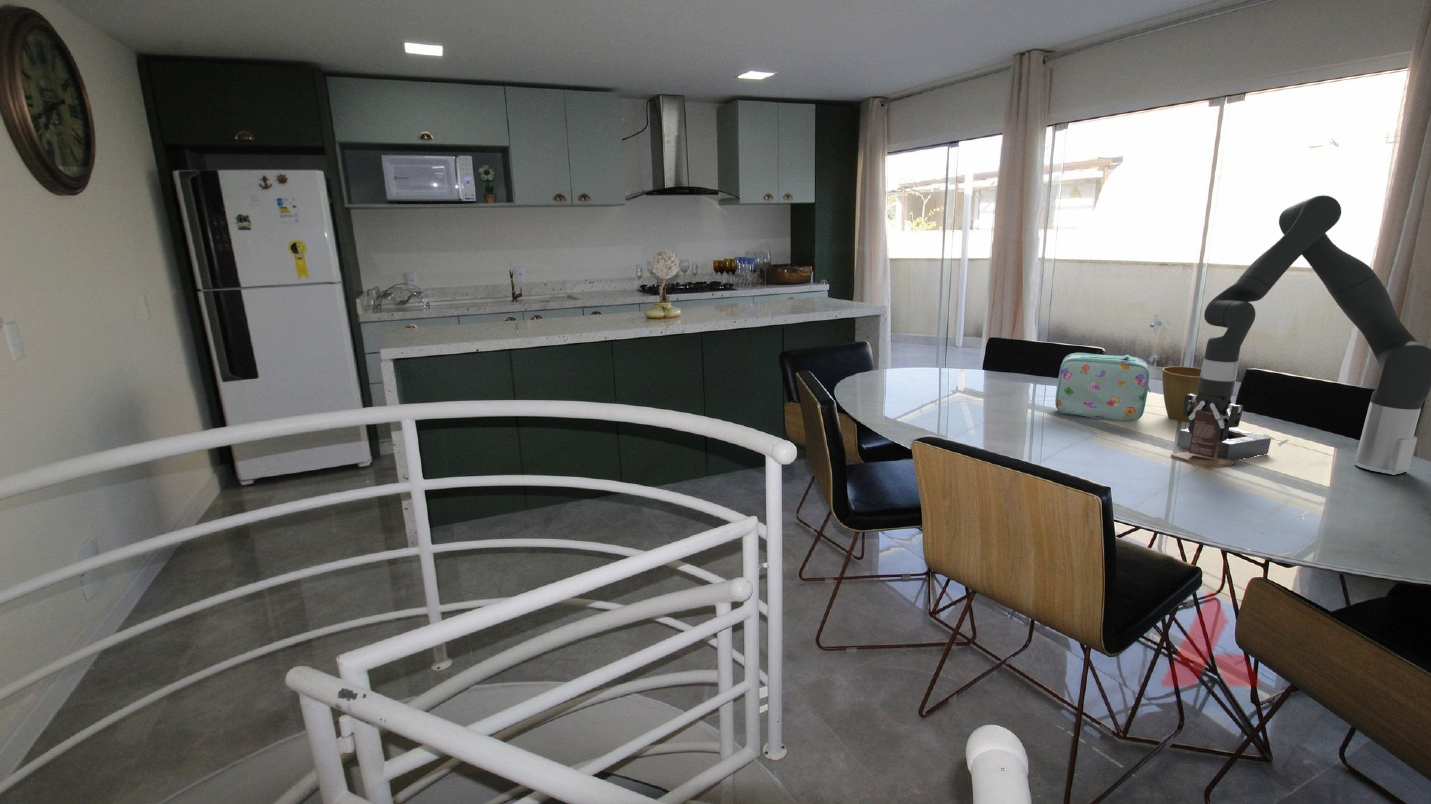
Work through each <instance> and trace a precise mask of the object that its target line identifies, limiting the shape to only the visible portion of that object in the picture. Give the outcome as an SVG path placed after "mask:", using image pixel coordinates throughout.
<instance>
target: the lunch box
mask: <svg viewBox="0 0 1431 804" xmlns="http://www.w3.org/2000/svg"><path fill="white" fill-rule="evenodd" d="M1149 367H1150V366H1149V364H1148V363H1147V361H1145V360H1144V359H1142V358H1140V357H1137V356H1131V355H1130V354H1125V355H1113V354H1110V355H1109V354H1099V353H1098V354H1097V353H1088V352H1074V353H1070V354H1067V355H1065V357H1064V358H1063V359H1062V363H1061V364H1060V368H1059V374H1058V377H1057V385H1056V392H1055V403H1054V404H1055V408H1056V409H1057V410H1058V411H1059V412H1060V413H1062V414H1066V415H1073V416H1075V415H1076V416H1081V417H1082V416H1083V417H1087V418H1093V419H1097V420H1108V421H1109V420H1110V421H1118V422H1119V421H1120V422H1135V421H1136V422H1137V421H1139V420H1140V419H1141V418H1142V417H1143V415H1144V412H1145V409H1146V408H1145V407H1146V404H1147V398H1148V393H1151V388H1150V385H1149V384H1150V369H1149Z"/></svg>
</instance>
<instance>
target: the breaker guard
mask: <svg viewBox="0 0 1431 804" xmlns="http://www.w3.org/2000/svg"><path fill="white" fill-rule="evenodd" d="M1191 436H1192V434H1191V433H1189V430H1188V427H1187V428H1182V429H1179V430H1178V436H1177V443H1176V447H1177V448H1181V449H1184V450H1187V451H1189V447H1190V442H1191ZM1271 440H1272V437H1271V436H1267V435H1262V434H1259V433H1256V432H1255V433H1254V432H1252V431H1248V430H1243V429H1240V428H1238V427H1233V428H1230V429H1229V432H1228V437H1227V439H1226V440H1225V441H1223V442H1221V445H1220V451H1219V455H1218V457H1221V458H1225V459H1228V460H1231V461H1234V462H1235V461H1240V460H1239V459H1241V460H1244V459H1243V458H1247V459H1252V458H1251V457H1253V458H1255V457H1254V456H1257V455H1264V454H1267V453H1268V454H1269V449H1270V446H1271Z"/></svg>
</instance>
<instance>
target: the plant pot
mask: <svg viewBox="0 0 1431 804" xmlns="http://www.w3.org/2000/svg"><path fill="white" fill-rule="evenodd" d="M1200 374H1201V367H1200V368H1199V367H1191V366H1177V365H1176V366H1174V365H1172V366H1165V367H1163V368H1162V374H1161V375H1162V378H1161V379H1162V393H1163V401H1164V407H1165V412H1166V414H1167V417H1168V419H1170V420H1172V421H1177V422H1181V423H1189V422H1190V419H1189V418H1188V417H1187V416H1184V415H1183V408H1184V399H1185V395H1188V394H1195V395H1198V391H1197V390H1198V385H1199V379H1200ZM1197 406H1198V404H1197V401H1196V402H1195V405H1194V409H1195V408H1196V407H1197Z"/></svg>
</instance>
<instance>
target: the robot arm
mask: <svg viewBox="0 0 1431 804" xmlns="http://www.w3.org/2000/svg"><path fill="white" fill-rule="evenodd" d="M1341 216H1342V207H1341V204H1340V202H1339V201H1338V200H1337V199H1336V198H1334V197H1332V196H1330V195H1325V194H1322V195H1315V196H1311V197H1309V198H1307V199H1304V200H1302V201H1299V202H1297V203H1295V204H1293V205H1291V206H1288V207H1287V208H1285V209H1284V210H1283V211H1282V212H1281V214H1280V215H1279V217H1278V225H1279V228H1280V231H1281V232H1282V234H1283V235H1282V237H1281V238H1280V239H1279V240H1278V241H1276V242H1275V243H1274V244H1273V245H1272V246H1271V247H1270V248H1269V249H1267V250H1266V251H1265V252H1263V253H1262V254H1261V255H1260V256H1259V257H1257V259H1255V260H1254V262H1252V263H1251V264H1250V265H1249V266H1248V267H1247V268H1246V270H1245V271H1244V272H1243V273H1242V274H1241V276H1240V277H1239V278H1238V280H1236V282H1234V283H1233V284H1232V285H1231V286H1228V287H1227V288H1226V289H1224V290H1223V291H1222V292H1220V293H1219V294H1217V296H1215V297H1214V298H1213V299H1212V300H1210V301H1209V302H1208V304H1207V305H1206V308H1205V310H1204V315H1203V316H1204V320H1205V322H1206V323H1207V324H1208V325H1210V326H1214V327H1219V328H1220V327H1221V328H1226V331H1225V333H1224V334H1223V335H1216V336H1215V335H1214V336H1212V337H1210V338H1208V340H1207V343H1206V347H1205V348H1206V349H1205V353H1204V359H1203V362H1202V363H1201V364H1202V365H1201V367H1200V369H1201V374H1200V379H1199V385H1198V390H1197V391H1198V395H1195V394H1188V395H1185V399H1184V408H1183V415H1184V416H1187V417H1188V418H1189V419H1190V422H1188V423H1189V424H1188V427H1187V428H1188V430H1189V433H1191V434H1192V431H1193V425H1194V419H1195V413H1196V410H1203V411H1207V412H1211V413H1214V416H1215V419H1216V420H1217V421H1218V423H1219V426H1220V428H1219V430H1218V435H1217V441H1219V442H1223V441H1225V440H1226V439H1227V437H1228V432H1229V429H1230V428H1238V427H1239V425H1240V421H1241V417H1242V415H1243V411H1244V405H1243V404H1235V403H1232V401H1231V399H1232V396H1233V395H1234V390H1235V385H1236V384H1235V383H1236V378H1237V374H1238V365H1239V363H1238V362H1239V358H1240V353H1241V346H1242V345H1243V342H1244V340H1245V339H1246V337H1247V335H1248V333H1249V331H1250V329H1251V327H1252V325H1253V324H1254V322H1255V319H1256V314H1257V313H1256V309H1255V307H1254V305H1253V304H1252V303H1251V302H1257V301H1258V302H1259V301H1260V300H1262V299H1263V298H1264V297H1265V296H1266V295H1267V294H1268V293H1269V292H1270V290H1271V289H1272V288H1273V287H1274V286H1275V284H1276V283H1277V282H1278V281H1279V280H1280V279H1281V277H1282V276H1283V275H1284V274H1285V273H1286V272H1287V270H1288V269H1289V268H1291V266H1292V265H1293V264H1294V263H1295V261H1296V260H1298V259H1299V258H1300V257H1301V256H1302V257H1303V258H1304V260H1305V261H1306V262H1307V263H1308V264H1309V265H1310V267H1311V269H1312V270H1313V271H1314V272H1315V274H1316V275H1317V276H1318V278H1319V279H1320V280H1321V282H1322V284H1323V285H1324V286H1325V288H1326V290H1327V291H1328V293H1329V294H1330V296H1331V297H1332V298H1333V300H1334V301H1335V302H1336V304H1337V306H1338V307H1339V308H1340V309H1341V310H1342V312H1343V313H1344V314H1345V315H1346V317H1347V318H1348V319H1349V320H1350V321H1351V322H1352V324H1353V325H1355V327H1356V328H1357V329H1358V330H1359V331H1360V333H1361V334H1362V335H1363V336H1364V338H1365V340H1366V342H1367V344H1368V346H1369V347H1370V349H1371V351H1372V353H1373V355H1374V358H1375V360H1376V361H1377V364H1378V365H1379V367H1380V368H1381V370H1382V371H1381V373H1380V374H1381V375H1380V378H1379V381H1378V382H1379V383H1378V385H1377V387H1376V388H1375V390H1374V391H1372V393H1371V398H1370V402H1369V405H1368V408H1367V413H1366V417H1365V419H1364V420H1365V421H1364V424H1363V428H1362V432H1361V436H1360V439H1359V445H1358V447H1357V448H1358V449H1357V452H1356V456H1355V460H1354V462H1355V461H1357V462H1358V463H1360V464H1363V465H1365V466H1369V467H1375V468H1379V469H1385V470H1392V471H1399V470H1409V471H1410V467H1411V463H1412V459H1413V456H1414V453H1415V449H1416V446H1417V442H1418V437H1416V436H1415V432H1416V429H1417V425H1418V420H1419V417H1420V415H1421V410H1422V408H1423V407H1422V406H1423V403H1424V402H1425V400H1426V399H1427V397H1428V396H1429V395H1430V394H1429V393H1430V391H1431V348H1430V347H1429V346H1427V345H1424V344H1422V343H1420V342H1419V341H1418V340H1417V339H1416V338H1415V337H1414V336H1413V335H1412V334H1411V333H1410V332H1409V330H1408V329H1407V328H1406V326H1404V324H1403V323H1402V322H1401V320H1400V319H1399V317H1398V315H1397V313H1396V310H1395V307H1394V305H1393V302H1392V298H1391V297H1390V294H1389V293H1388V290H1387V289H1386V286H1385V285H1384V284H1383V281H1381V279H1380V278H1379V277H1378V275H1377V273H1376V272H1375V271H1374V270H1373V269H1372V268H1371V266H1369V265H1368V264H1367V263H1365V262H1364V261H1362V260H1361V259H1358V258H1357V257H1355V256H1353V255H1352V254H1350V253H1347V252H1346V251H1344V250H1342V249H1341V248H1340V247H1338V246H1337V245H1336V244H1335V243H1334V242H1333V241H1332V240H1331V239H1330V237H1329V236H1328V235H1327V232H1328V231H1330V230H1331V229H1332V228H1333V227H1335V225H1336V224H1337V223H1338V222H1339V221H1340V218H1341ZM1196 401H1197V404H1198V406H1197V407H1196V408H1195V409H1194V405H1195V402H1196ZM1228 411H1229V412H1228ZM1223 413H1224V414H1225V415H1224V416H1221V415H1220V414H1223Z"/></svg>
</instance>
